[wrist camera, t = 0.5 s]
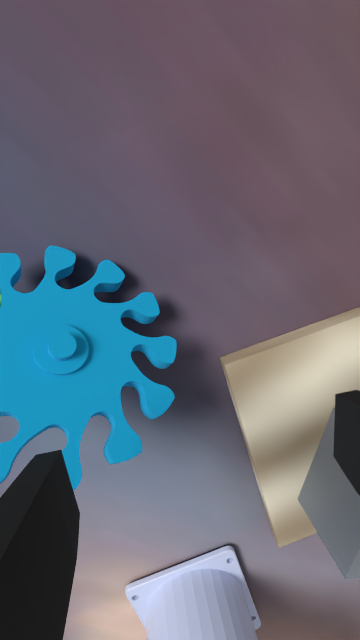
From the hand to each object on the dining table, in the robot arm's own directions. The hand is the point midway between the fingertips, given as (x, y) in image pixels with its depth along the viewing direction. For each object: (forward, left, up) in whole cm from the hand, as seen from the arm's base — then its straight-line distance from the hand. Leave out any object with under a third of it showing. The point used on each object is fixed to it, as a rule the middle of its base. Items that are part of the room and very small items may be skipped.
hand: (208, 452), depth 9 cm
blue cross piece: (+2, +5, -10) cm, 11 cm away
